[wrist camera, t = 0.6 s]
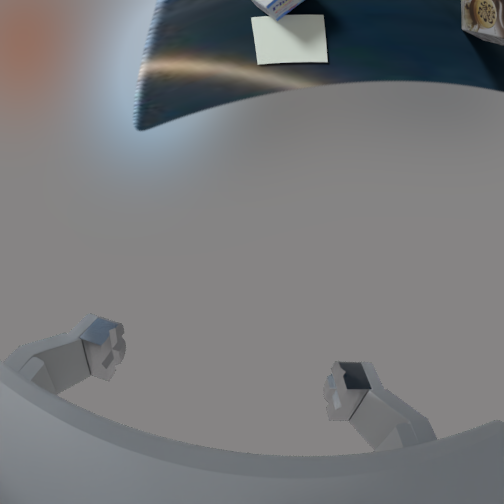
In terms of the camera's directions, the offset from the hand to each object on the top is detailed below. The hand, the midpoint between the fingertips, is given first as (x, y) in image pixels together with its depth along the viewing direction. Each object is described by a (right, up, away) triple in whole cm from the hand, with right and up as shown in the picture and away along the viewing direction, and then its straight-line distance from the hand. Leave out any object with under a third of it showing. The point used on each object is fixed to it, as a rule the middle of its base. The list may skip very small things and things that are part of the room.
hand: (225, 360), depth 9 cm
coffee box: (+40, +46, +9) cm, 62 cm away
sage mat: (+7, +37, +22) cm, 44 cm away
